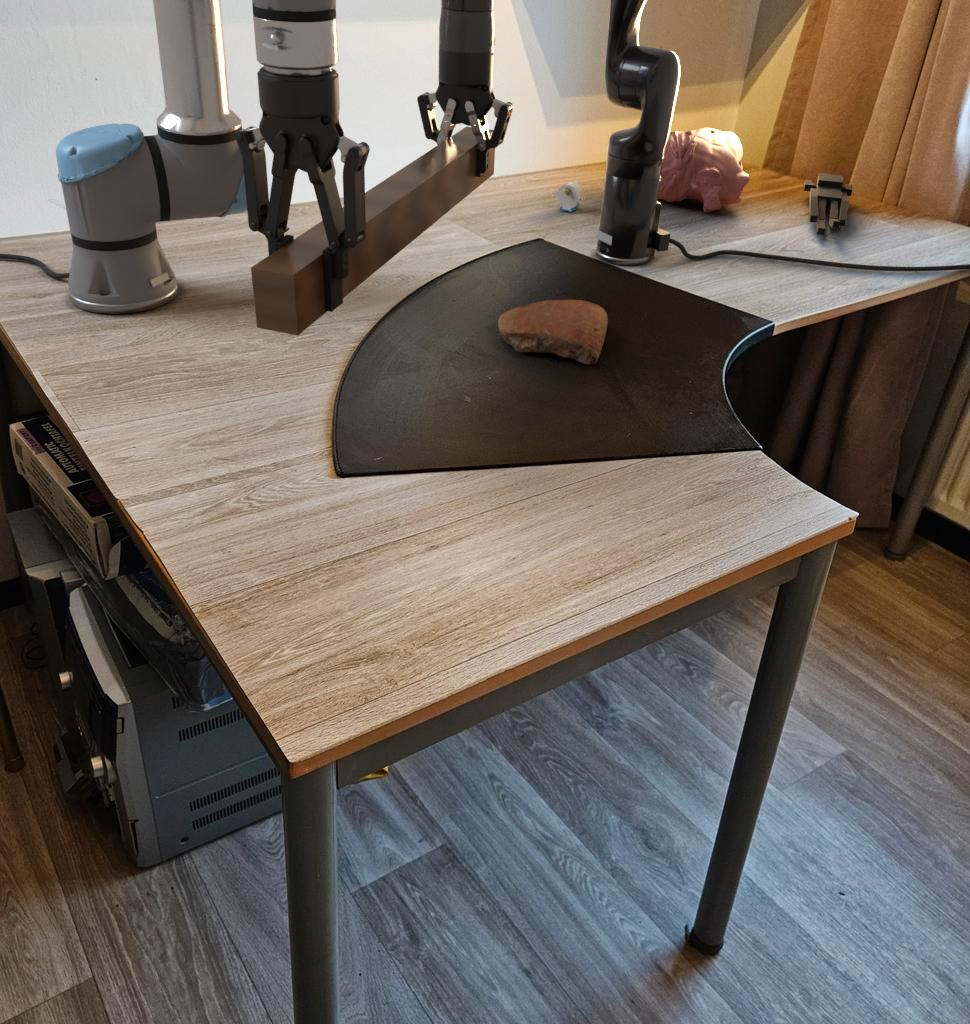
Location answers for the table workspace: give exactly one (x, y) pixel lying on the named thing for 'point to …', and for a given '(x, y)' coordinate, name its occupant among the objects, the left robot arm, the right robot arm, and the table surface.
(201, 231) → the table surface
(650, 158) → the right robot arm
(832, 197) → the toy
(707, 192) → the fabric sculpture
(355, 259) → the bar
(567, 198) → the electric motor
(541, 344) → the ceramic shard
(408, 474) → the table surface
